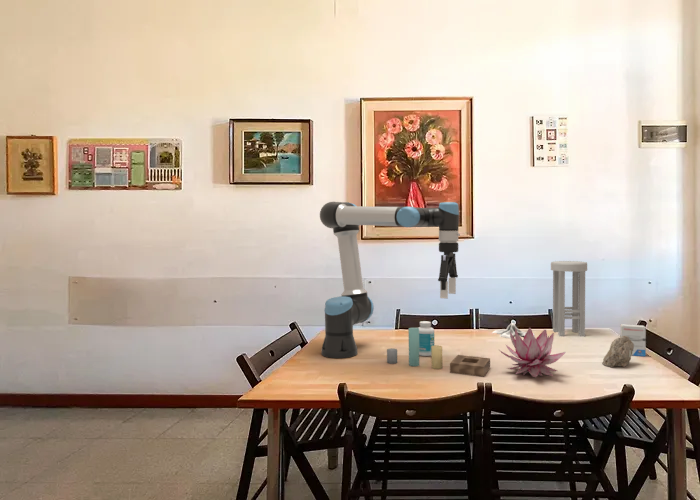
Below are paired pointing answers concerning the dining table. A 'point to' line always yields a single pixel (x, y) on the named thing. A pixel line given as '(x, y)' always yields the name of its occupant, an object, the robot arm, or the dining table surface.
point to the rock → (619, 352)
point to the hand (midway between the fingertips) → (448, 296)
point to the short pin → (391, 356)
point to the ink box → (635, 337)
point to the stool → (577, 296)
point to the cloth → (511, 328)
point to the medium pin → (436, 356)
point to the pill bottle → (425, 338)
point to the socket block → (470, 365)
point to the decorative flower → (533, 353)
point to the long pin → (413, 346)
